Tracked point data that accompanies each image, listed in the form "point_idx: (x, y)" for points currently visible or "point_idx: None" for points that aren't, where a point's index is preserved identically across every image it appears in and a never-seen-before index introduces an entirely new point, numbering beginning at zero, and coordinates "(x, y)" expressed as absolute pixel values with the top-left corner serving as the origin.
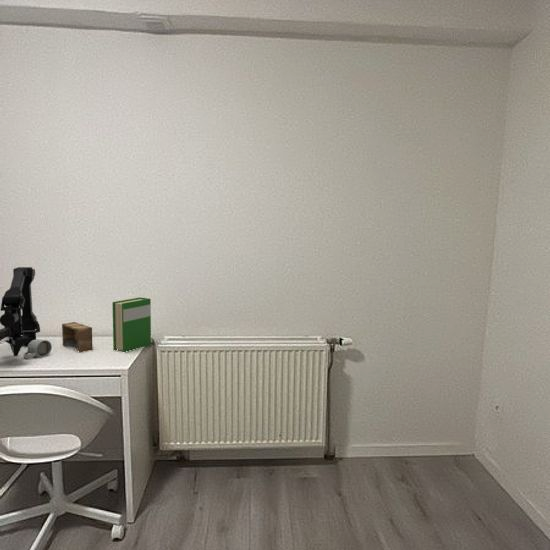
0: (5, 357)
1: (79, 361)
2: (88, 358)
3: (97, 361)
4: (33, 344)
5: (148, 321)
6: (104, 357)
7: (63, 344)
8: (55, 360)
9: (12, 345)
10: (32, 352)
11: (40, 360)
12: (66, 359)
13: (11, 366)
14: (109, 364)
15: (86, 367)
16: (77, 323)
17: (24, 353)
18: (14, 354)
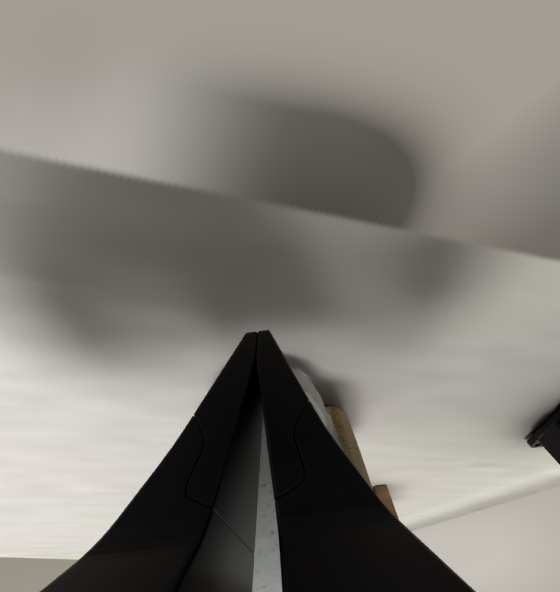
0: (448, 249)
1: (46, 501)
2: (92, 514)
3: (26, 525)
4: (269, 538)
5: None
6: (87, 533)
7: (380, 494)
8: (109, 456)
9: (108, 557)
10: (265, 437)
11: (148, 416)
12: (109, 480)
13: (3, 231)
14: None
15: None
16: None
17: (309, 396)
18: (237, 348)
